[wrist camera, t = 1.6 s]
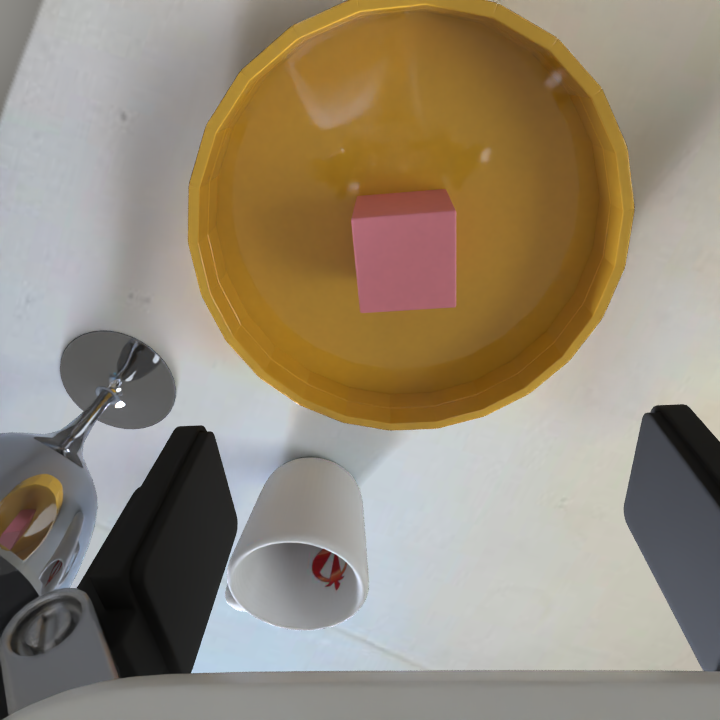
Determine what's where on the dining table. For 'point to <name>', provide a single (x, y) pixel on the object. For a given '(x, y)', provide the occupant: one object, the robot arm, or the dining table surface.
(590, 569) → the dining table surface
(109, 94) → the dining table surface
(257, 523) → the cup
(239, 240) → the yellow bowl
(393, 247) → the block
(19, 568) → the wine glass
